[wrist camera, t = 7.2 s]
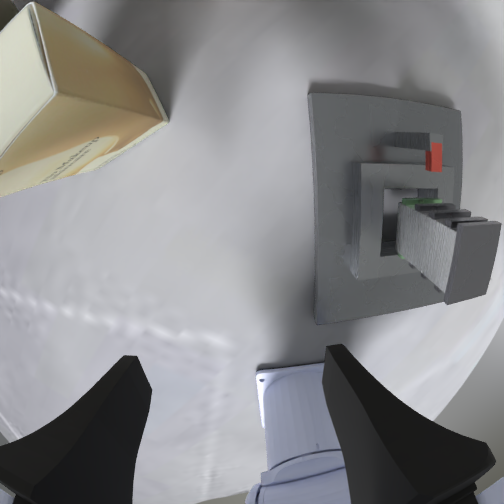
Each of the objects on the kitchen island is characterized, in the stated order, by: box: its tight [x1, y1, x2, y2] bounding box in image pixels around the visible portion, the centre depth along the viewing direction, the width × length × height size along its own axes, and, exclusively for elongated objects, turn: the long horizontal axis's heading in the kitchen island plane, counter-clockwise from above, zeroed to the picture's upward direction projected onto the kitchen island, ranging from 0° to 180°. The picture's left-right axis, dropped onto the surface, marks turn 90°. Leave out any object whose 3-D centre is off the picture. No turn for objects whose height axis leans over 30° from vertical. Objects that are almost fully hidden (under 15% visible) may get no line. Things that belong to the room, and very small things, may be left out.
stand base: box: [307, 93, 462, 325], centre depth 16 cm, size 16×12×5 cm
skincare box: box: [0, 1, 169, 197], centre depth 10 cm, size 6×4×12 cm
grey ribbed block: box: [395, 198, 501, 305], centre depth 13 cm, size 4×3×6 cm
